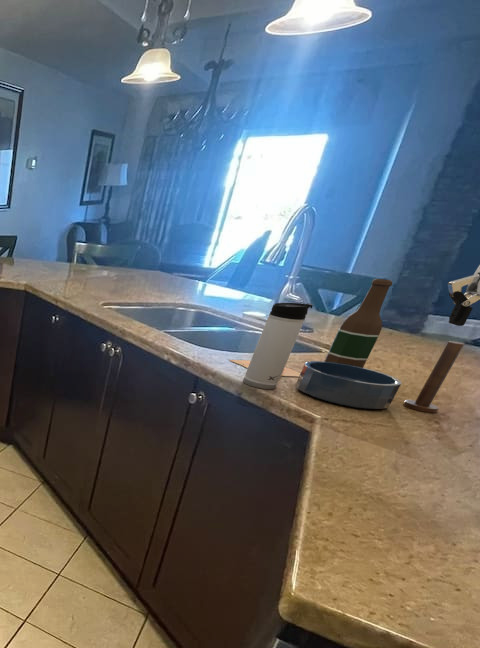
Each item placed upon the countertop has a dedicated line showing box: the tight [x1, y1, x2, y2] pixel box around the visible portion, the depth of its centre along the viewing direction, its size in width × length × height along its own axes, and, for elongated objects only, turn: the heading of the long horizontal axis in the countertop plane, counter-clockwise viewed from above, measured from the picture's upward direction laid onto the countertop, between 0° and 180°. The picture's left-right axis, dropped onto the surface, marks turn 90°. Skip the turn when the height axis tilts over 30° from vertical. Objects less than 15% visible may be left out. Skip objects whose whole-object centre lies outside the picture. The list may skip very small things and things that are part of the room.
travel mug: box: [242, 302, 313, 390], centre depth 113 cm, size 6×7×20 cm
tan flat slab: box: [229, 359, 301, 377], centre depth 128 cm, size 12×12×4 cm
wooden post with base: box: [403, 340, 465, 414], centre depth 104 cm, size 5×5×15 cm
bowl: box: [294, 360, 402, 410], centre depth 110 cm, size 16×16×6 cm
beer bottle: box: [324, 278, 393, 368], centre depth 124 cm, size 8×8×24 cm
